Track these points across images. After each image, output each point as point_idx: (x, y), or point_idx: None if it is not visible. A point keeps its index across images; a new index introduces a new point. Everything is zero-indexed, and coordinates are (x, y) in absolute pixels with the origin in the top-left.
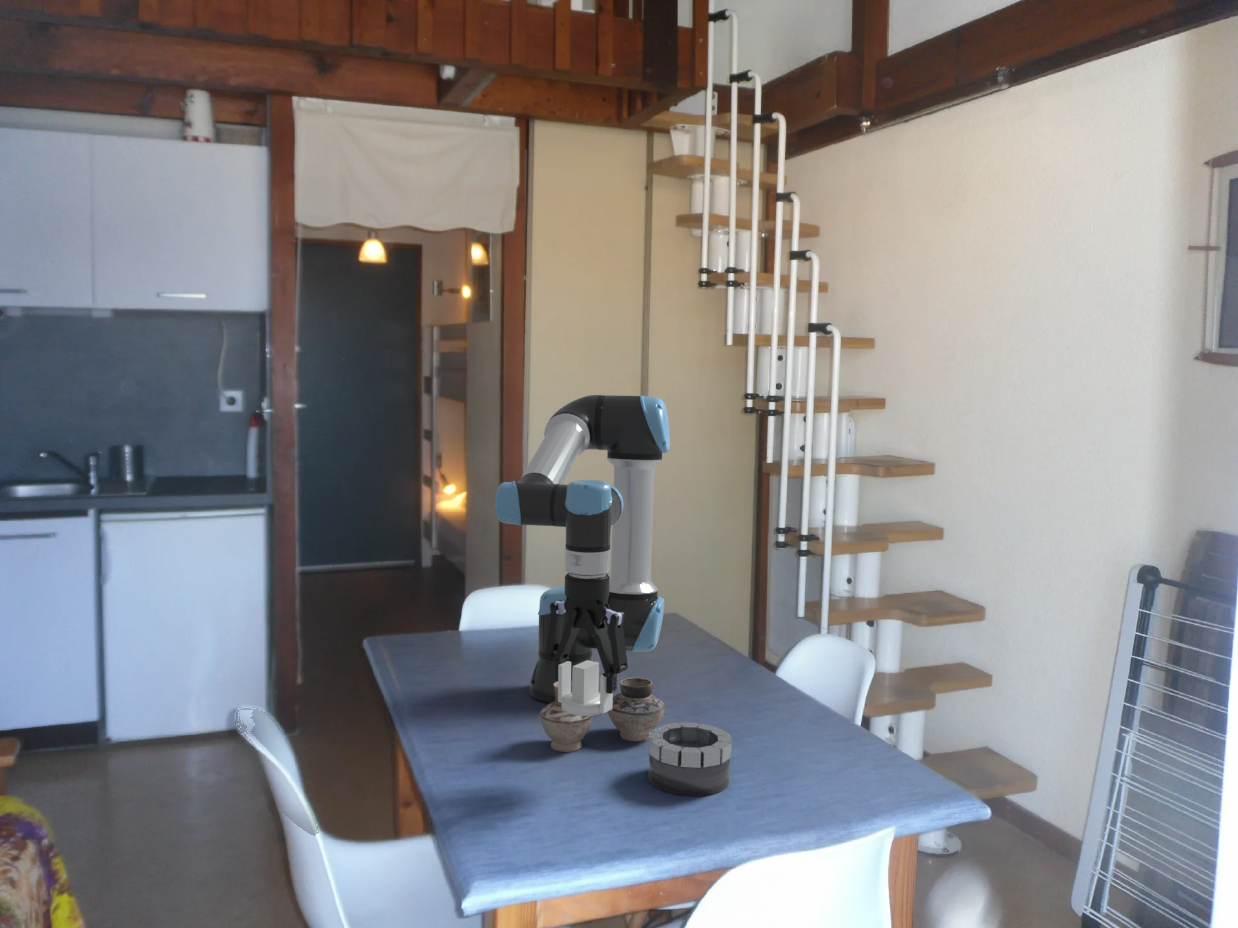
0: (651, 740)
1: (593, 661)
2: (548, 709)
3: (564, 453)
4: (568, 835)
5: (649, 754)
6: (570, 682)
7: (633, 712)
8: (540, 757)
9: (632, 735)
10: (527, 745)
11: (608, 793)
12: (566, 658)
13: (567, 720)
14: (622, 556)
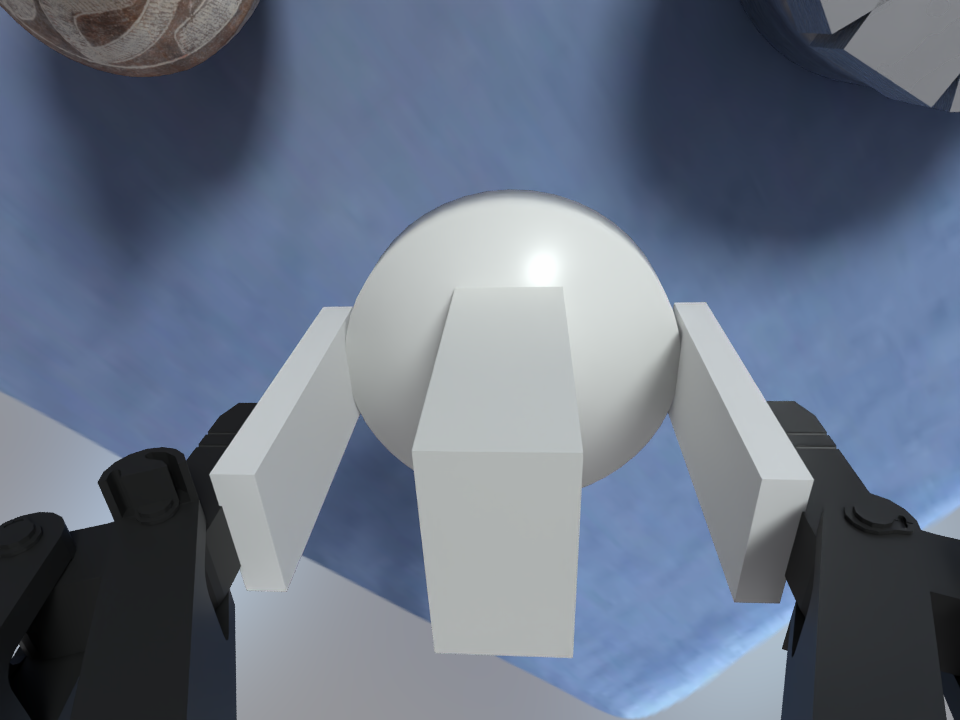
0: (855, 51)
1: (502, 454)
2: (42, 9)
3: None
4: (690, 514)
5: (788, 10)
6: (320, 367)
7: None
8: (229, 121)
9: None
10: None
11: (655, 239)
12: (204, 521)
13: (217, 27)
14: None
